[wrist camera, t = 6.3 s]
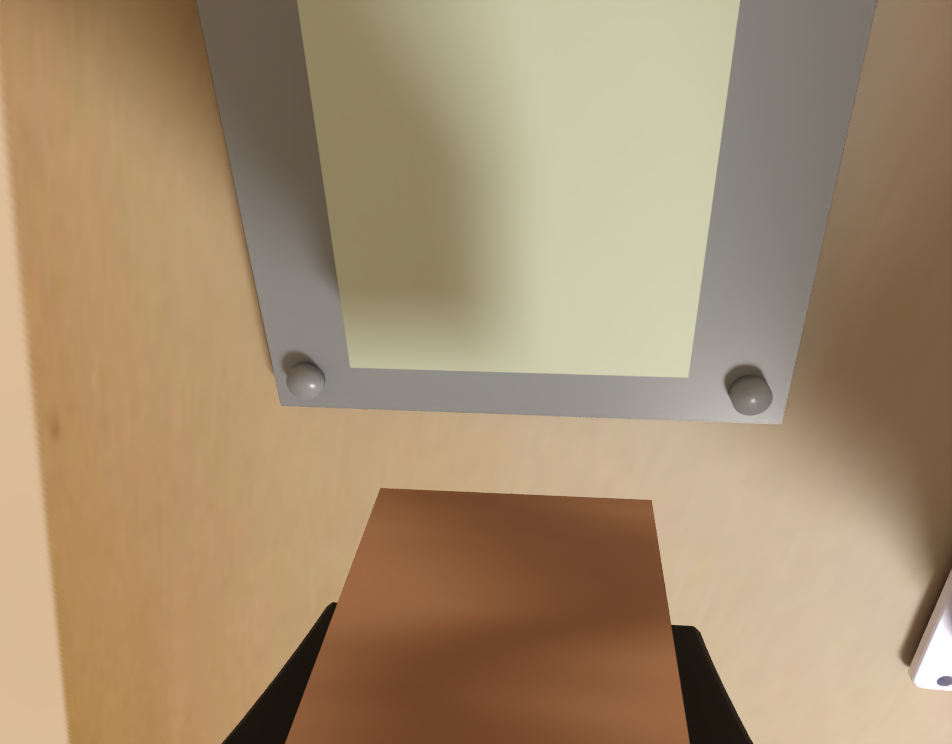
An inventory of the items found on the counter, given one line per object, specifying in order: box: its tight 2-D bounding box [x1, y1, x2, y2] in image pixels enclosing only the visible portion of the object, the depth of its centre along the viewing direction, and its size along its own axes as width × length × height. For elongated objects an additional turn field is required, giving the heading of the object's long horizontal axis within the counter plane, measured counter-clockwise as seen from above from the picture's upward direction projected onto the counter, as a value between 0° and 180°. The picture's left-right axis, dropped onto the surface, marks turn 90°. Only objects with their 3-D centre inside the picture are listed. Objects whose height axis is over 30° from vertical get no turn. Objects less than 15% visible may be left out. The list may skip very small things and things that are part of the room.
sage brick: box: [297, 0, 740, 378], centre depth 15 cm, size 8×8×2 cm
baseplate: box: [196, 0, 877, 424], centre depth 16 cm, size 14×13×1 cm
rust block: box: [285, 488, 690, 744], centre depth 10 cm, size 4×4×5 cm
